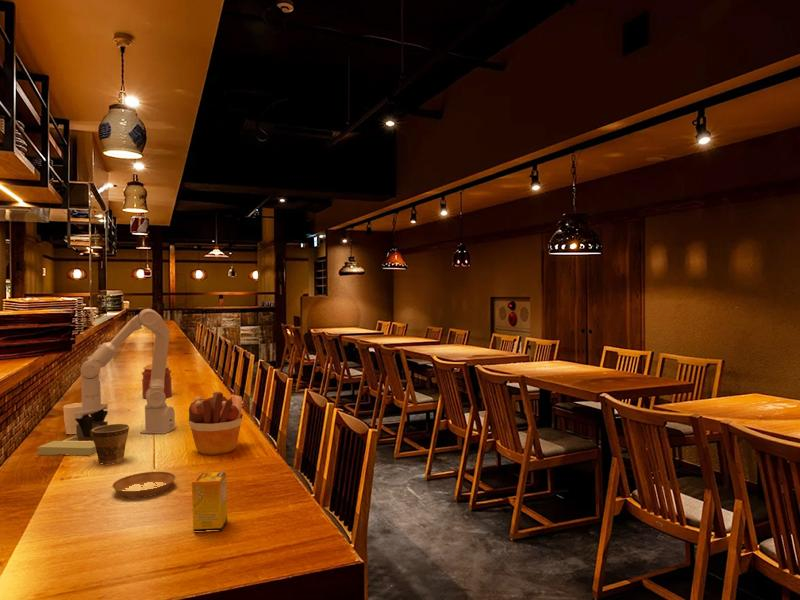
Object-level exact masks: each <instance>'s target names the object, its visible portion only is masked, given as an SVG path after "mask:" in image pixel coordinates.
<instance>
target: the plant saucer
mask: <svg viewBox="0 0 800 600" xmlns="http://www.w3.org/2000/svg"><path fill="white" fill-rule="evenodd" d="M176 478H177V477H176V475H175V474H174V473H172V472H168V471H147V472H140V473H135V474H130V475H126V476H124V477H121V478H119V479H117V480H116V481H114V482H113V484H112V486H111V487H112V489H113V490H114V491H116V492H117V493H118V494H119V495H121V496H122V497H124V496H125V498H129V497H140V498H145V497H144V496H147V497H151V496H150V495H152V496H155V495H154V494H156V495H158V493H159V494H161V493H163V492H164V490H165V491H166V490H167V489H168V488H169V487H170V486H171V485H172V484H173V483H174V481H175V480H176ZM147 482H153V483H155V482H163V483H166V485H163V486H160V487H157V486H154V487H157V488H153V489H147V490H140V491H122V490H126V489H125V488H129V486H132V485H134V484H140V485H144V483H147ZM155 484H156V483H155ZM156 485H157V484H156ZM141 487H143V486H141ZM162 491H163V492H162ZM160 492H161V493H160Z"/></svg>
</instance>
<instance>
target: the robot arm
mask: <svg viewBox="0 0 800 600" xmlns="http://www.w3.org/2000/svg"><path fill="white" fill-rule="evenodd" d="M143 327H145V328H146V329H148V330H150V331H151V332H152V333H153V335H154V336H155V340H154V348H153V356H152V371H151V379H150V385H149V388H148V390H147V391H146V394H145V396H146V399H145V400H146V404H145V405H144V420H145V421H144V423H145V427H144V430H141V431H140V434H163V435H164V434H167V433H169V432H171V431H174V430H175V429H177V426H176V420H175V413H176V412H175V409H174V407H172V406H168V405H167V402H166V399H167V398H166V396H165V393H164V378H165V370H166V365H167V360H168V352H169V344H170V343H169V342H170V334H171V332H170V329H169V327H168V326H167V324H166V322H165V321H164V319H163V317H162V316H161V315H160V314H159V313H158V312H157V311H156V310H154V309H152V308H144V309H142V310H140V312H139V313H138V314H136V315H135V316H133V317H132V318H131V319H130V320H129V321H128V322H127V323H126V324H125V325H124V326H123V327H122V328H121V329H120V330H119V331H118V333H117V334H115V336H113V338H112V339H111V340H110V341H108V342H103V343H102V344H98V346H97V349H95V351H94V352H93V353H92V354H91V355H88V356H87V358H86V359H87V360H86V361H84V362H83V363H82V365H81V366H80V374H81V387H80V388H81V403H82V408H80V410H79V411H78V412H75V420H76V421H77V422H78V424H79V425H80V428H81V430H82V433H83V436H84V437H90V430H91V427H92V422H93V421H105V419H106V417H107V415H108V414H109V412H108V409H109V407H108V403H102V401H101V400H102V398H101V396H102V394H101V380H100V373H101V368H105V367H106V366H107V365H108V364H109V363H110V362H111V361H112V359H113V358H114V357H115V356H116V355H118V347H120V345H121V344H122V343H124V342H125V340H127V339H128V338H129V337H130V336H131V335H132V334H134V332H136V331H139V330H142V329H143Z"/></svg>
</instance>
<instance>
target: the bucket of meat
mask: <svg viewBox="0 0 800 600" xmlns="http://www.w3.org/2000/svg"><path fill="white" fill-rule="evenodd" d="M242 407H243V397H242V395H236V394H231V396H230V398H227V397H226V396H224V394H223V392H220V391H217V390H216V391H213V392H212V396H211V397H208V398H205V399H204V398H202V397H201V396H198V395H197V396H196V397H194V401H193V402H192V403H190V405H189V408H188V424H189V427H190V429H191V434H192V438H193V441H194V445H195V449H196V451H198V452H199V453H200V454H202V455H204V456H218V455H219V456H220V455H224V454H229V453H231V452H233V451H234V450H235V449H236V448H237V445H238V440H239V435H240V429H241V425H242V420H243V413H242V410H243V409H242Z"/></svg>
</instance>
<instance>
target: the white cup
mask: <svg viewBox="0 0 800 600" xmlns="http://www.w3.org/2000/svg"><path fill="white" fill-rule="evenodd" d="M62 408H63V421H64V428H65V434H66V435H67V434H77V428H76V425H77V424H78V422H77V421H76V420H75V412H78V411H79V410H80V408H82V402H75V403H69V404H64V405H63V407H62Z"/></svg>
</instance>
